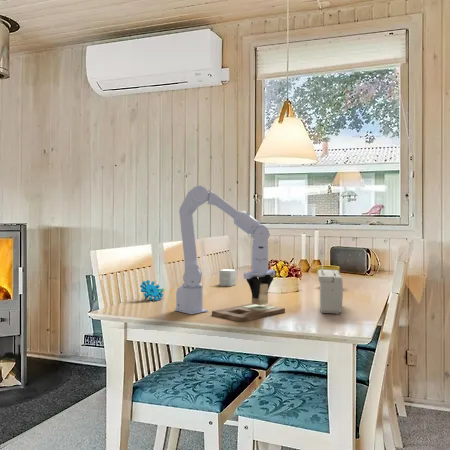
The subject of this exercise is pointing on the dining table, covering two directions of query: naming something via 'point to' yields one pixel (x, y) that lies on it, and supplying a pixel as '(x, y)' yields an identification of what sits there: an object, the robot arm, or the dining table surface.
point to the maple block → (261, 295)
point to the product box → (227, 277)
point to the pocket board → (248, 312)
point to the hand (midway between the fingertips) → (259, 297)
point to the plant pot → (327, 268)
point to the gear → (151, 290)
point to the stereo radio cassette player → (330, 290)
